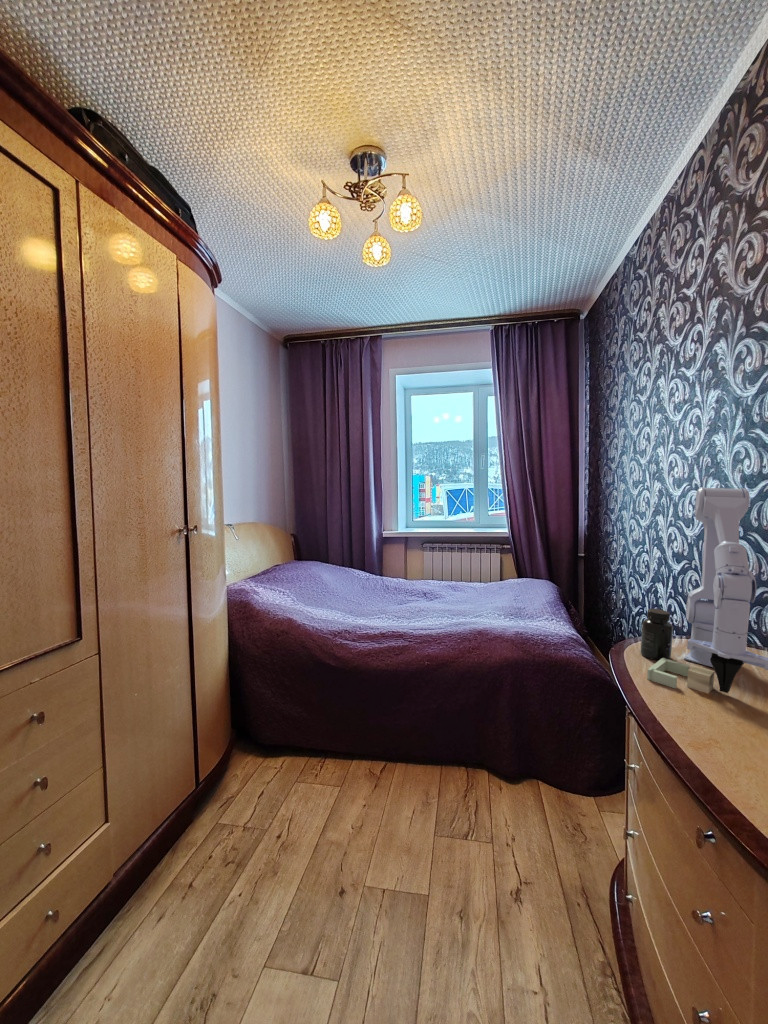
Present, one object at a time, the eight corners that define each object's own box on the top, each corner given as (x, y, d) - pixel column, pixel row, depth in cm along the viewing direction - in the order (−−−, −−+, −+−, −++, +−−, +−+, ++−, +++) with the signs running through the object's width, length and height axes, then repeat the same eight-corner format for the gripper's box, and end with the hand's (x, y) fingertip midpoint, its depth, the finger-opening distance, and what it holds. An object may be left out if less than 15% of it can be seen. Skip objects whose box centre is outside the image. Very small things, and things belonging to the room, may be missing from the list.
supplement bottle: (675, 663, 112) (679, 616, 111) (645, 660, 114) (649, 614, 113) (664, 652, 119) (667, 608, 118) (636, 649, 120) (639, 606, 119)
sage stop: (661, 667, 110) (662, 657, 110) (688, 675, 106) (689, 665, 106) (647, 679, 103) (647, 669, 103) (674, 688, 99) (675, 678, 99)
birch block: (692, 681, 103) (693, 665, 102) (713, 688, 100) (714, 671, 99) (686, 687, 100) (688, 670, 100) (708, 694, 97) (709, 676, 97)
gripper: (684, 624, 98) (680, 683, 99) (771, 644, 87) (764, 710, 88) (694, 617, 103) (689, 674, 104) (777, 636, 92) (771, 699, 93)
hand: (724, 690), depth 96 cm, fingers closed
